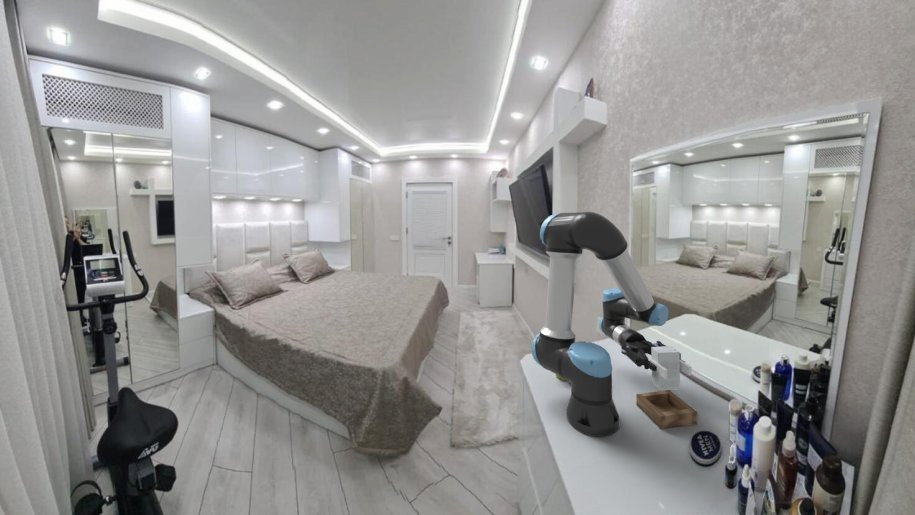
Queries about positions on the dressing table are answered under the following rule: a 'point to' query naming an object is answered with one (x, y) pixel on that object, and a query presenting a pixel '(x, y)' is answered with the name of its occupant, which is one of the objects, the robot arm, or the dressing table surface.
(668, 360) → the skincare box
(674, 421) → the walnut square tray
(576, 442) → the dressing table surface
